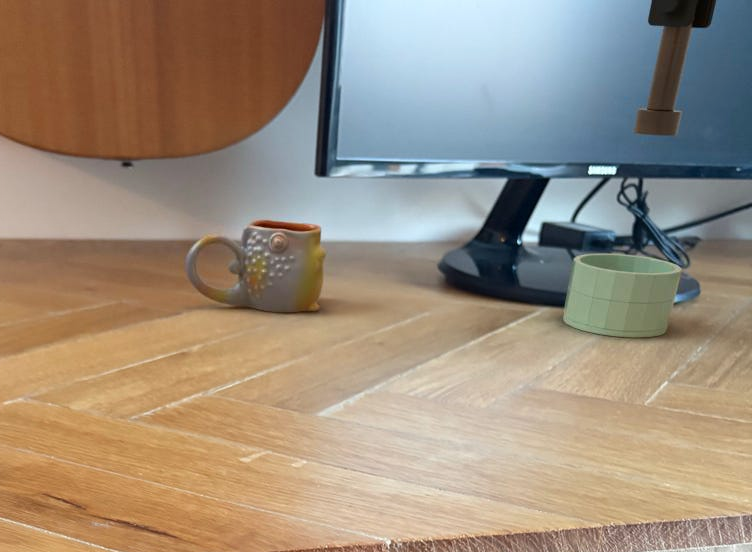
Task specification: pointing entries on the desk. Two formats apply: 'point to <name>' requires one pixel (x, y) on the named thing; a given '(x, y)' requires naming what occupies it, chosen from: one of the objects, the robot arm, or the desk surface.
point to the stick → (665, 84)
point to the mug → (268, 267)
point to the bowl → (621, 295)
